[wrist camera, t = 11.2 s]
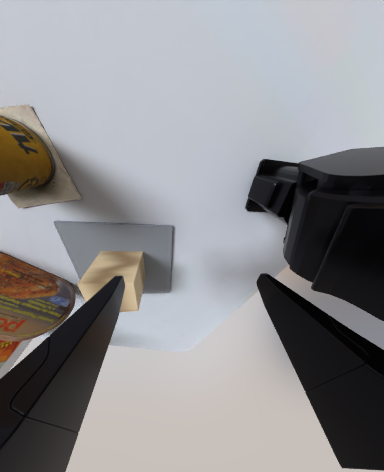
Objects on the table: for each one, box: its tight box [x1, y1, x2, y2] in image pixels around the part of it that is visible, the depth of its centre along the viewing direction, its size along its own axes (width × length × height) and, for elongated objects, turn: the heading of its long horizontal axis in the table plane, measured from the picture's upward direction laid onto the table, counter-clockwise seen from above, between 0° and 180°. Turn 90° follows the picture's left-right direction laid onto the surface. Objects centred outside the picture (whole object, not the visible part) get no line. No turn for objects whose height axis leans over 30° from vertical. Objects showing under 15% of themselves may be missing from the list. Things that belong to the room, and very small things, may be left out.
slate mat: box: [54, 221, 173, 294], centre depth 22 cm, size 15×15×1 cm
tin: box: [0, 253, 75, 342], centre depth 18 cm, size 15×3×8 cm, turn 38°
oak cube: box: [77, 251, 145, 312], centre depth 20 cm, size 6×6×6 cm
